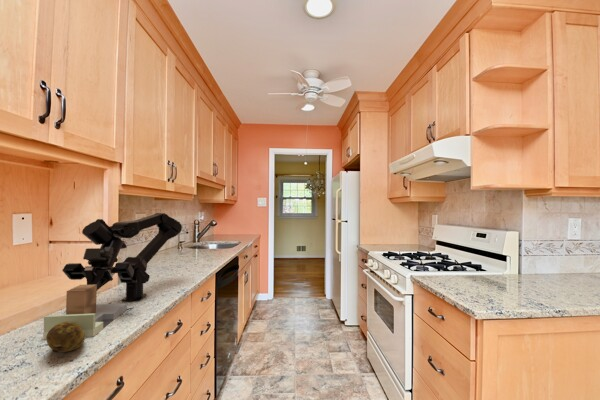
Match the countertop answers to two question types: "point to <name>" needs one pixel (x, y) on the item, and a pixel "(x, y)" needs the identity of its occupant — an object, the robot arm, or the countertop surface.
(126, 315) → the countertop surface
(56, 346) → the potato
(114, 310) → the trap board
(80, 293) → the walnut block
